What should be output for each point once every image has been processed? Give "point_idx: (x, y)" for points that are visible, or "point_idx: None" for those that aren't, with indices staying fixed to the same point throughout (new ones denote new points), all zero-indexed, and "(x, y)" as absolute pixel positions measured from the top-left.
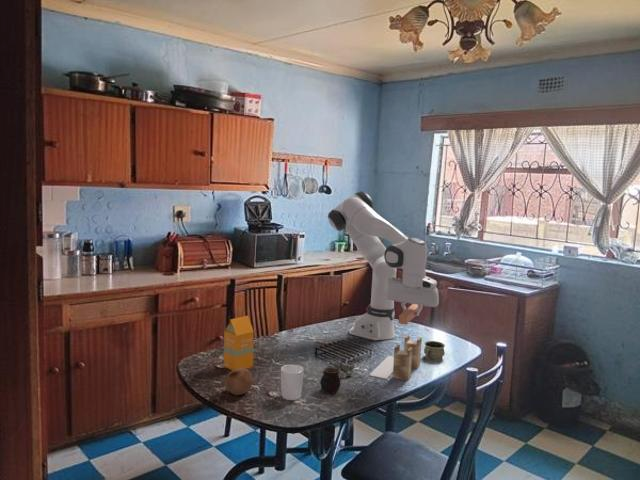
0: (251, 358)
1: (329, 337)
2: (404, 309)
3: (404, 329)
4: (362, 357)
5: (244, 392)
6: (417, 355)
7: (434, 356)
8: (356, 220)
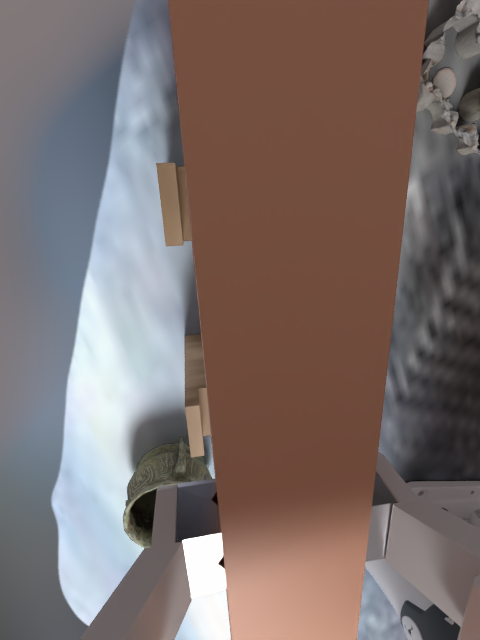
0: None
1: None
2: (402, 499)
3: None
4: (411, 315)
5: None
6: (188, 361)
7: (155, 456)
8: None
